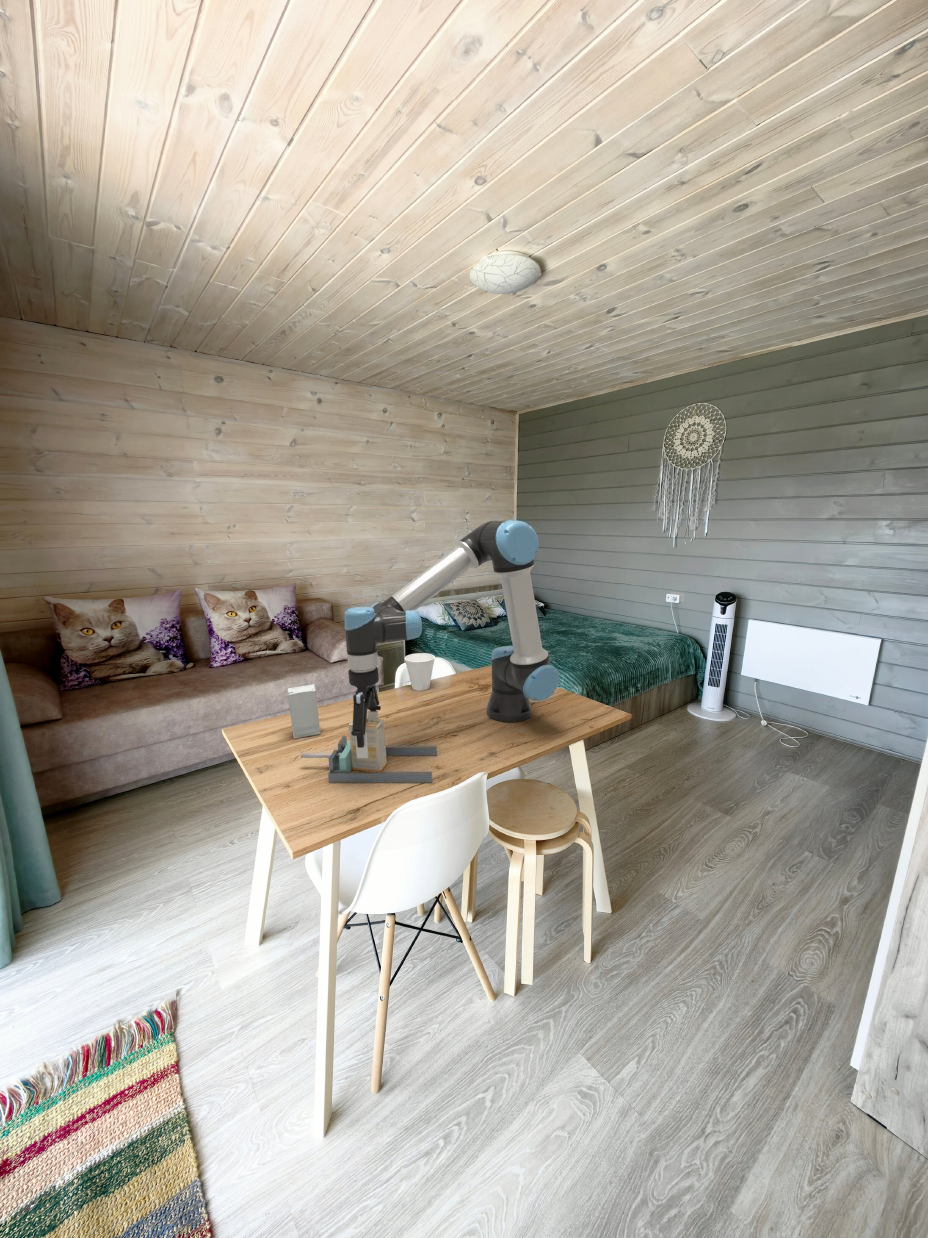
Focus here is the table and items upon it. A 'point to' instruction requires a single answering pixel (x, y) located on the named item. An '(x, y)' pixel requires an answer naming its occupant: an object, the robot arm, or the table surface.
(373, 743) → the supplement box
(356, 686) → the robot arm
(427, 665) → the cup
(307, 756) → the pusher
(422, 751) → the lane
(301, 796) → the table surface
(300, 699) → the skincare box
